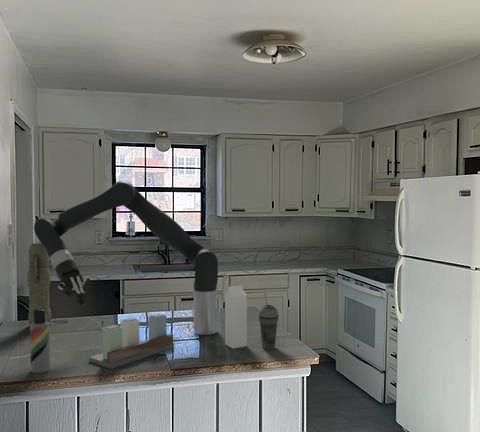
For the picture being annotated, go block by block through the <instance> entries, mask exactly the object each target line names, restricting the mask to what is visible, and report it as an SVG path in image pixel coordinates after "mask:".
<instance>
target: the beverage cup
mask: <svg viewBox="0 0 480 432" xmlns="http://www.w3.org/2000/svg"><path fill="white" fill-rule="evenodd" d="M267 298H268V297H267V292H264V299H265V301H264V302H265V305H263V306H262V307H261V308H260V310H259V313H258V320H259V324H260V325H259V326H260V337H261V347H262V349H263V350H274V349H275V348H276V347H275V346H276V341H277V340H276V338H277V331H278V330H277V329H278V328H277V327H278V322H279V321H278V320H279V312H278V310H277V308H276V307H275V306H273V305H271V304H268V299H267Z"/></svg>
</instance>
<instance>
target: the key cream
mask: <svg viewBox="0 0 480 432" xmlns="http://www.w3.org/2000/svg"><path fill="white" fill-rule="evenodd" d="M119 323H120V325H119V326H120V327H122V348H124V347H127V346H130V345H134V344H137V343H139V342H140V319H139V318H134V317H129V318H124V319H121V320H120V322H119Z"/></svg>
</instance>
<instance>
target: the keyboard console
mask: <svg viewBox="0 0 480 432" xmlns="http://www.w3.org/2000/svg"><path fill="white" fill-rule="evenodd" d="M171 348H172V349H174V348H175V343H174V333H171V332H170V333H168V334H167V335H163V336H160V337H157V338H153V339H150V340H149V338H148V339H144V340H142V341H139V343H137V344H134V345H130V346H127V347H124V348H121V349H117V350H114V351H111V352H107V360H106V359H103V352H102V353H99V354H95V355H92V356H89V359H88V360H89V363H93V364H94V365H98V366H102V367H103V368H107V369H110V370H112V369H115V368H119V367H121V366H123V365H127V364H130V363H133V362H135V361H139V360H141V359H145V358H147V356H148V357H151V356H153V355H152V354H154V355H156V353H157V354H159V353H158V352H160V353H162V352H161V351H163V352H165V351H164V350H166V351H168V350H167V349H169V350H171ZM150 355H151V356H150Z"/></svg>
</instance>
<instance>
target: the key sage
mask: <svg viewBox="0 0 480 432" xmlns="http://www.w3.org/2000/svg"><path fill="white" fill-rule="evenodd" d="M101 334H102V335H101V336H102V337H101V341H102V342H101V343H102V345H101V346H102V347H101V348H102V353H103V359H106V360H107V352H111V351H114V350H117V349H121V348H122V327H120V325H116V324H112V325H108V326H105V327H102V328H101Z"/></svg>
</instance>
